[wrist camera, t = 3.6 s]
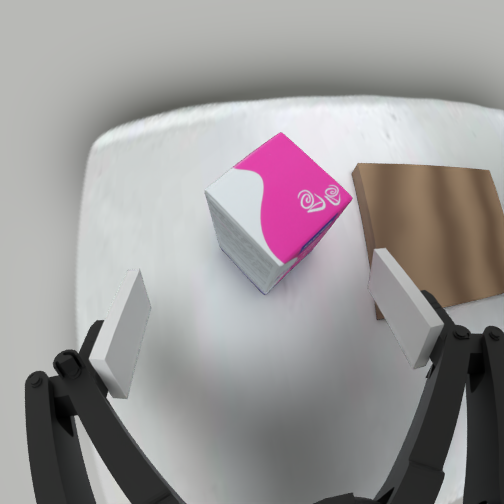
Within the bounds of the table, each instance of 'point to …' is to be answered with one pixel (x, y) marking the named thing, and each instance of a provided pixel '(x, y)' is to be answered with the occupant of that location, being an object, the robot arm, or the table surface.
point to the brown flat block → (435, 227)
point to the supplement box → (273, 210)
